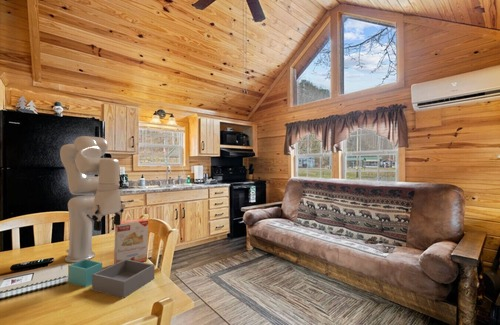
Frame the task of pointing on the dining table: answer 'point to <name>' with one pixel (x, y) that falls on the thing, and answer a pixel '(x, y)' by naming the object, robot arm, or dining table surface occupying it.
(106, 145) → the robot arm
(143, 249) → the cracker box
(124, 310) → the dining table surface
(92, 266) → the teal crate
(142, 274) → the charcoal crate
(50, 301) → the dining table surface
